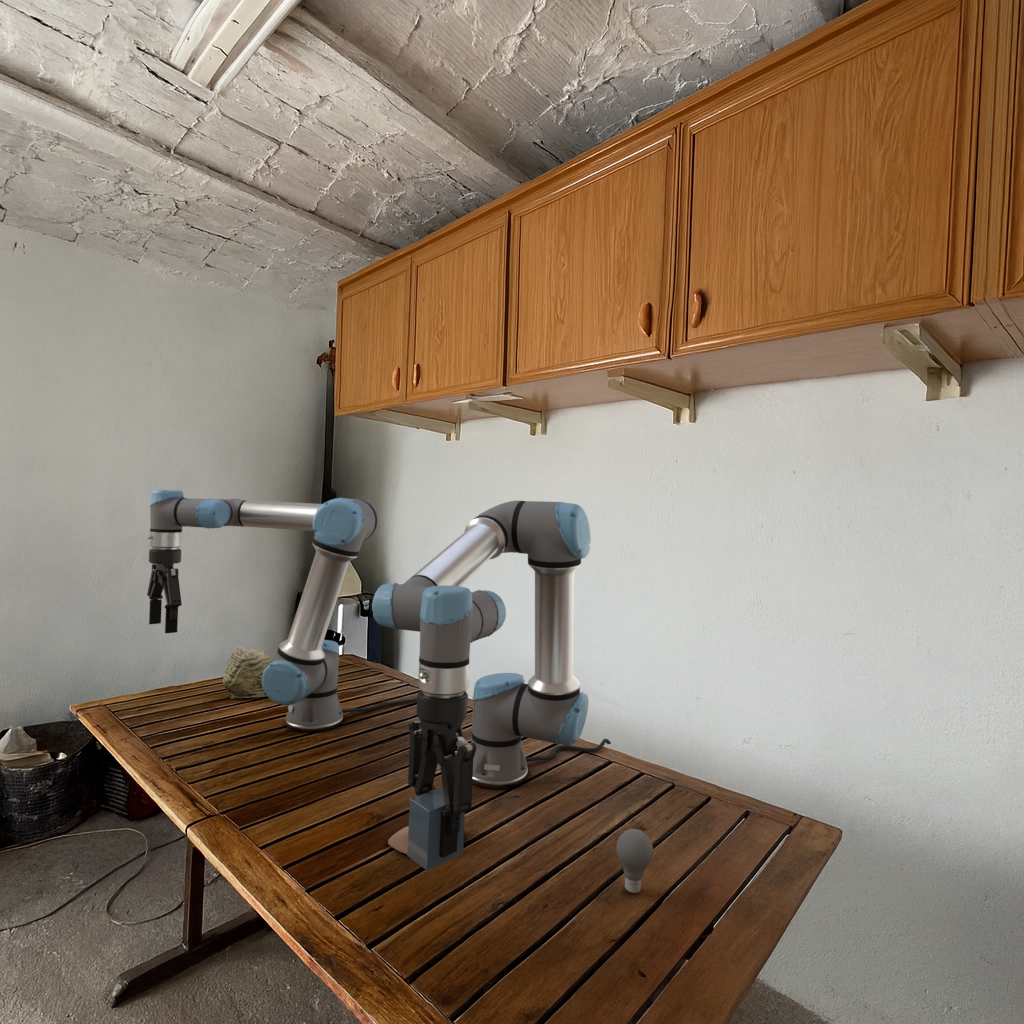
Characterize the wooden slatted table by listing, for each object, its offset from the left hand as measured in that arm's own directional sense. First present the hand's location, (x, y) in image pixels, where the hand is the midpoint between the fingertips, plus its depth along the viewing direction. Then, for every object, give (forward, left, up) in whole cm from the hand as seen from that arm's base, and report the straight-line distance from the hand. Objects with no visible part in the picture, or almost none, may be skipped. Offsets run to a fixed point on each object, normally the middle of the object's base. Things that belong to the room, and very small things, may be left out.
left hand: (162, 628), depth 168 cm
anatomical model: (-10, +92, -26) cm, 96 cm away
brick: (+6, +110, -16) cm, 111 cm away
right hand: (+6, +110, -14) cm, 111 cm away
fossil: (-32, -9, -26) cm, 42 cm away
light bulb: (-22, +128, -26) cm, 133 cm away
